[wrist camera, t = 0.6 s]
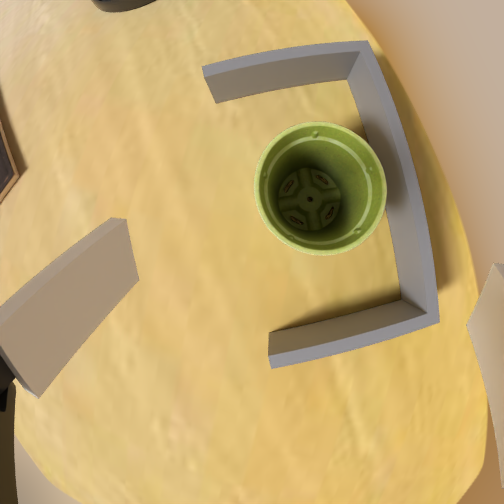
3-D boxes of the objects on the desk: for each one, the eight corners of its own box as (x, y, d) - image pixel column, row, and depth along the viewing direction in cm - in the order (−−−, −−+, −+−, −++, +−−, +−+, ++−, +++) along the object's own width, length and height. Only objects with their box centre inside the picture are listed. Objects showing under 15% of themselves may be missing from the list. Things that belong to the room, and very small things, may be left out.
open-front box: (213, 93, 29) (201, 66, 23) (353, 69, 28) (367, 40, 22) (271, 343, 30) (271, 368, 24) (412, 307, 29) (439, 322, 23)
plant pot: (240, 216, 30) (227, 209, 21) (290, 134, 29) (297, 98, 20) (324, 267, 29) (345, 281, 21) (371, 184, 29) (407, 168, 20)
